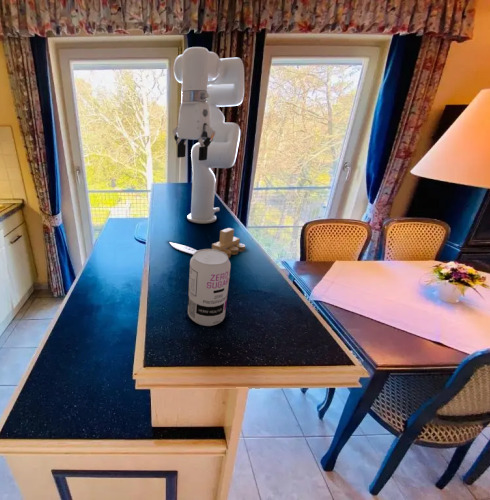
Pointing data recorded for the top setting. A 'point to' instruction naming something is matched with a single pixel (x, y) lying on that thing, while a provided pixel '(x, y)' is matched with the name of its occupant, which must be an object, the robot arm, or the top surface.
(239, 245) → the crumb
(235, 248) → the crumb middle
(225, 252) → the crumb
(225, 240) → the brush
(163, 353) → the top surface
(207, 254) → the supplement can
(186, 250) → the knife
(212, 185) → the robot arm
